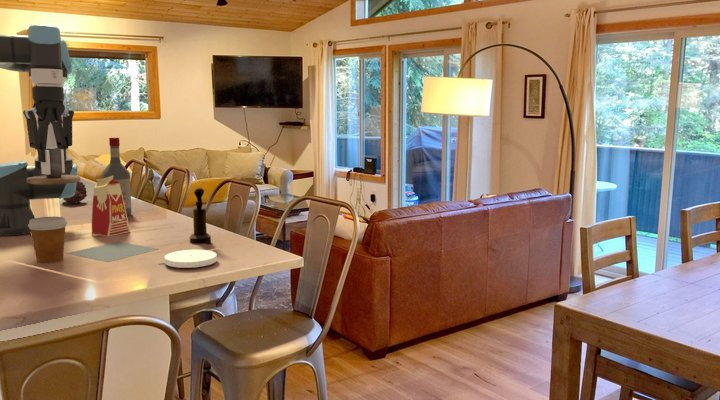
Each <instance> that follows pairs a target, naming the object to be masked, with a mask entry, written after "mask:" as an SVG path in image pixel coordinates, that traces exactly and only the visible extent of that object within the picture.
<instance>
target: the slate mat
mask: <svg viewBox="0 0 720 400" xmlns="http://www.w3.org/2000/svg"><path fill="white" fill-rule="evenodd" d="M158 250H159V248H155V247H150V246H145V245H139V244H133V243H129V242H124V241H119V240H118V241H115V242H110V243H106V244H102V245H97V246H93V247H89V248H88V247H87V248H83V249H79V250H74V251H70V252H66V254H68V255H71V256H77V257H82V258H86V259H92V260H95V261H99V262H101V261H102V262H105V263H111V262H115V261H119V260H123V259H126V258H130V257H134V256H138V255H141V254H142V255H143V254H146V253H150V252H154V251H158Z"/></svg>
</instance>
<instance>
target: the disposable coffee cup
mask: <svg viewBox="0 0 720 400" xmlns="http://www.w3.org/2000/svg"><path fill="white" fill-rule="evenodd" d="M67 224H68V222H67V221H66V218H65V217H63V216H41V217H35V218H34V219H31V220H30V221H29V224H28V227H29V229H30V231H31V233H30V235H31V239H32V245H33V249H34V254H35V258H36V262H37V263H41V264H53V263H58V262H61V261H63V260H64V250H65V237H66V235H65V234H66V227H67Z"/></svg>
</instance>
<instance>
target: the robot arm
mask: <svg viewBox="0 0 720 400" xmlns="http://www.w3.org/2000/svg"><path fill="white" fill-rule="evenodd" d="M27 31H28V32H27V33H28V35H17V34H15V35H14V34H11V35H9V34H0V69H4V70H7V71H10V72H11V71H12V72H22V73H28V78H29V80H30V81H31V84H32V85H33V86H32V87H31V95H32V100H33V104H32V108H29V109H28V110H23V113H22V114H23V115H24V117H25V120H26V127H27V135H28V143H29V147H30V148H33V149H35V150H36V152H37V157H36V158H35V159H34V164H33V165H31V164H30V165H29V163H28V161H26V160H22V161H21V160H19V161H11V162H4V163H3V162H2V163H0V237H5V236H6V237H10V236H18V235H19V236H20V235H26V234H31V231H30V229H29V227H28V224H29V221H30V220H31V219H34V218H36V217H35V215H34V213H33V211H32V208H31V201H32V200H51V199H53V200H54V199H63V198H68V197H72V196H74V194H75V191H76V183H77V182H74V183H67V184H49V185H42V184H29V183H27V178H29V177H33V176H42V175H50V174H51V171H50V156H49V150H46V148H60V164H61V175H77V176H78V164H76V163H74V162H73V158H72V157H71V156H70V155H69V154H68V149H69V147H72V146H73V118H74V115H75V111H74V110H72V109H68V108H66V106H65V90H64V83H66V81H67V80H68V75H70V74H72V71H73V70H72V63H71V58H70V54H69V49H68V45H67V42H66V41H65V40H64V38H63V39H62V37H61V31H60V28H58V27H57V26H55V25H47V24H46V25H45V24H32V25H29V26H28V30H27Z"/></svg>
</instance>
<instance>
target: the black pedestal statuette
mask: <svg viewBox="0 0 720 400" xmlns="http://www.w3.org/2000/svg"><path fill="white" fill-rule="evenodd" d="M204 193H205V189H204V188H203V187H202V186H201V187H200V186H197V187H195V188H194V189H193V194H194V195H195V197H196V200H195V202H194V203H195V206H196V208H195V207H194V208H192V216H193V218H192V221H193V224H192V225H193V233H192V234H191V235H190V236H189V244H193V245H203V244H205V245H209V244H211V243H212V241H211V240H212V239H211V238H212V236H211V234H209V233H208V232H207V214H206V212H207V209H206V208H205V207H203V204H204V201H203V200H202V199H203V195H204Z"/></svg>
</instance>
